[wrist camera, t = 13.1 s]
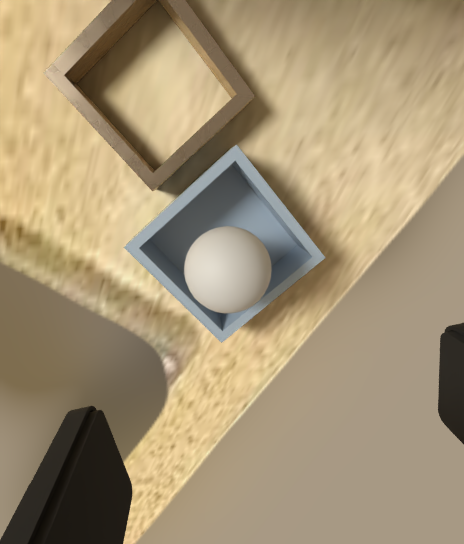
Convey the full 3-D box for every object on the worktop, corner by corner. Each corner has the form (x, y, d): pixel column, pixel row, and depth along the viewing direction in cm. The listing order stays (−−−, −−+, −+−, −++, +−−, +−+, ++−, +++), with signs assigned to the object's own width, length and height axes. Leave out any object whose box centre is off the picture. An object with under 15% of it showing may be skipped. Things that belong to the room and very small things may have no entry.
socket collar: (57, 81, 26) (43, 73, 23) (157, -23, 24) (153, -44, 22) (156, 189, 29) (152, 191, 27) (250, 102, 28) (254, 95, 25)
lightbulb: (201, 199, 29) (200, 223, 18) (263, 222, 30) (296, 256, 20) (180, 261, 31) (169, 314, 20) (240, 280, 32) (258, 340, 21)
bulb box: (135, 235, 30) (123, 247, 25) (230, 148, 28) (236, 144, 24) (218, 318, 33) (221, 342, 29) (306, 244, 32) (325, 257, 27)
